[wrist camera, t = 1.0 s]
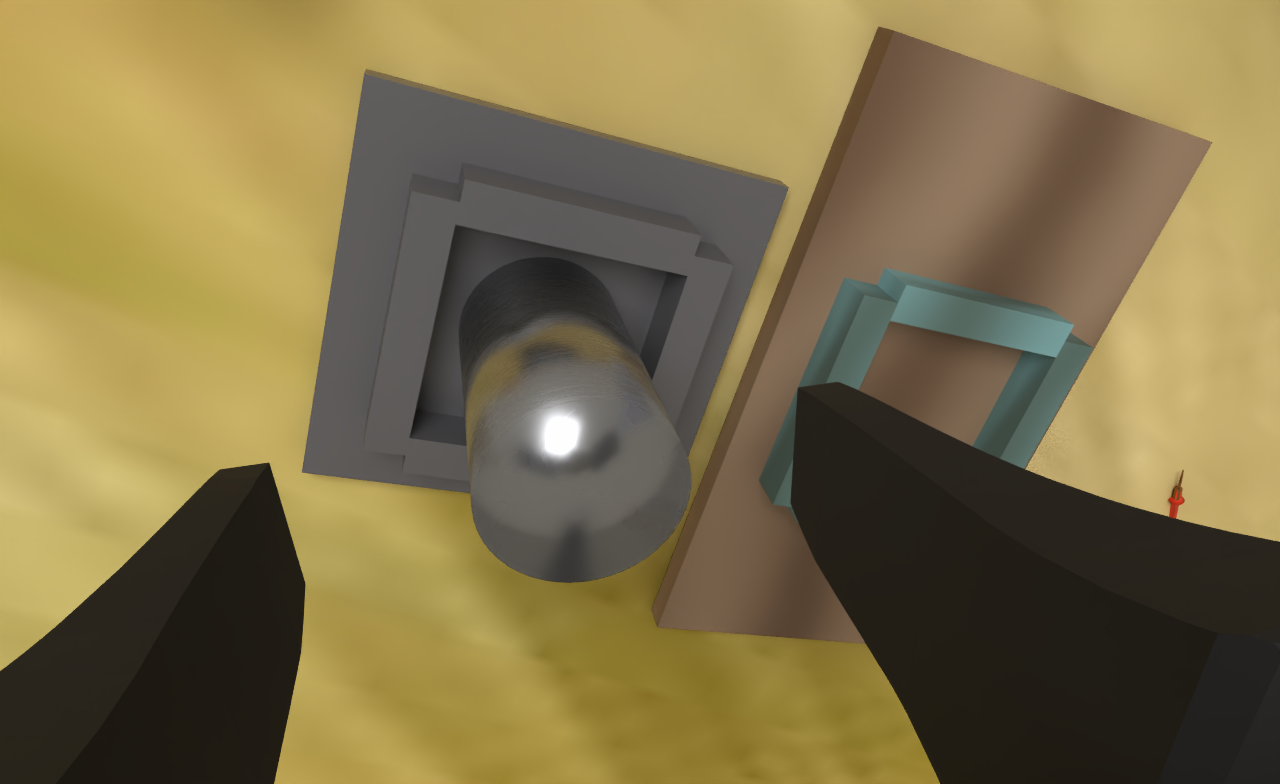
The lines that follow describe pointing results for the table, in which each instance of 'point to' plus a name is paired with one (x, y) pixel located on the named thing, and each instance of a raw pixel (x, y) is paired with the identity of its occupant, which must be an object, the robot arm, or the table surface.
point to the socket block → (500, 234)
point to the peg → (564, 427)
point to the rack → (925, 302)
